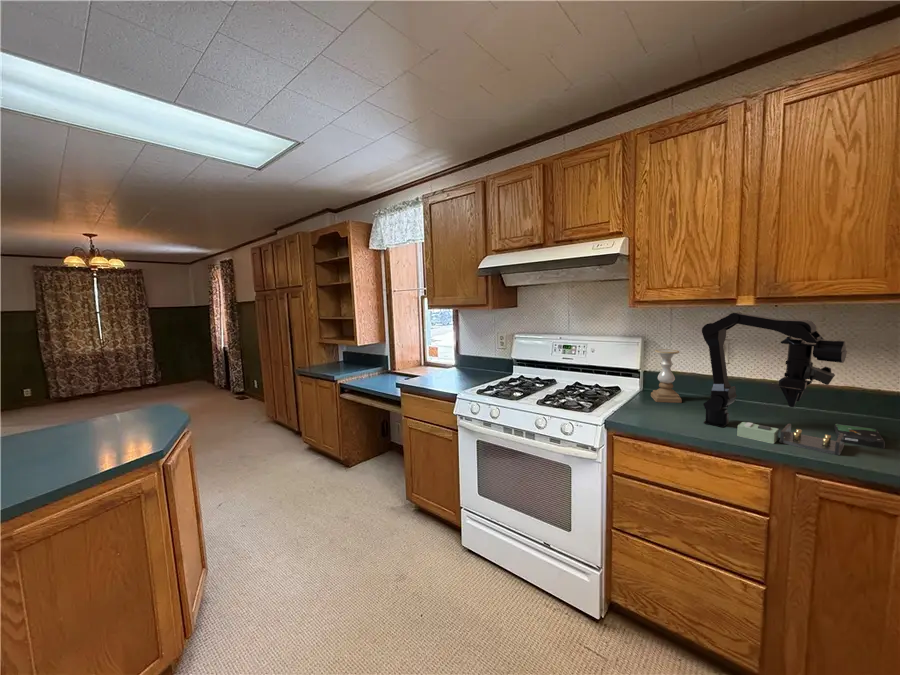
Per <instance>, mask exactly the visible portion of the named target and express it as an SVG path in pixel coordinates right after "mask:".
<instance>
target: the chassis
mask: <svg viewBox="0 0 900 675" xmlns="http://www.w3.org/2000/svg"><path fill="white" fill-rule="evenodd" d="M802 432H803V430H802V429H800V428H796V429H795V431H793V432H792V423H787V424H786V425H785V426H784V427H783V429H781V430H780V439H779V441H778V442H779V443H781V444H785V445H789V446H794V447H799V448H801V449H802V448H804V449H808V450H813V451H816V450H817V451H818V452H821V451H822V452H823V453H827V454H830V453H831V454H830V455H836V456H840V455H841V453H842V451H843V449H844V447H845V442H844V434H843V433H840V435H839V437H838V439H836V440H833V439H831V438H832V435H831V434H827V433H825V434H824V437H819V436H817V437H816V436H811V435H807V434H802ZM817 451H816V452H817Z"/></svg>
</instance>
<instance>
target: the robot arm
mask: <svg viewBox="0 0 900 675" xmlns="http://www.w3.org/2000/svg"><path fill="white" fill-rule="evenodd" d="M737 325H742V326H749V327H753V328H759V329H765V330H770V331H774V332H778V333H780V334H783V335H785V336H787V337H786V338H785V339H783V340H782V341H780V344H784V345H788V347H787V358H786V360H785V365H786V369H785V372H784V375H783V377H781V378H780V379H779V380H778V386H779V389H780V390H781V392H782V393H783V396H784V398H785V400H786V402H787V404H788V406H789V407H790V408H794V407H795V406H796V403H797V402H800V400H801V398H802V395H803V393H804V392H805V390H806V389H807V386H808V385H811V384H812V383H813V381H814V380H815V381H817V382H819V383H822V384H823V385H826V386H827V385H829V384H831V382H832V380H833V379H834V377H835V376H836V374H835V373H834V372H832V368H831V367H828V366H824V367H822V368H820V367H816V366H814V362H813V361H812V357H814V359H815V358H816V360H817V361H821V362H822V361H823V362H830V363H831V362H833V363H841V364H844V362H845V360H846V359H847V353H848V351H847V345H846V341H845V340H840V339H839V340H830V339H829V340H827V339H825V338H824V337H823V336H822V335H821V334H820V333H819V332H818V331H817V325H816V324H815V323H814V321H812V320H809V319H779V318H773V317H766V316H760V315H755V314H747V313H742V312H739V311H738V312H732V313H730V314H728V315H726V316H725V317H722V318H720V319H719V320H716V321H714V322H710V323H706V324H705V325H703V326H702V327H701V334H702V336H703V337H702V338H703V339H704V341H705V342H706V345H707V346H708V350H709V356H710V357H709V358H710V365H711V366H710V367H711V371H712V382H713V384H712V387H711V390H710V399H708V400H707V401H705V402H704V403H703V408H704V409H705V420H704V421H703V424H706V425H710V426H716V427H721V428H724V427H726V426H727V425H728V424H729V422H730V420H729V419H730V414H729V412H728V408H729V406H730V405H731V404H733V403H734V402H735V401H736V398H737V397H738V395H737V392H736V386H735V385H734V386H731V384H730V382H729V380H728V378H729V377H728V371H727V365H726V364H727V363H726V362H727V361H726V357H725V347H724V344H725V341H726V338H727V337H726V336H727V331H729V330H731V329H732V328H734V327H735V326H737Z"/></svg>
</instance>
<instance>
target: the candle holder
mask: <svg viewBox="0 0 900 675" xmlns="http://www.w3.org/2000/svg"><path fill="white" fill-rule="evenodd" d="M654 353H655V354H659V355H660V357H661V362H660V365H661V367H662V368H661V371H660V372H659V373H658V375H657V380H658V381H659V384H658V387H659V388H658V389H653V390H652V392H650V397H651V399H653V400H654V401H655V403H656V402H657V403H674V404H677V403H678V404H681V403H682V400H683V399H682V397H680V395H679V394H678V392H676V390H674V384H673V382H675V380H676V377H675V375H674V373H673V372H672V370H671V368H672V367H673V365H674V364H673V362H672V358H673V357H674V355H678V354H680V350H678V349H665V348H661V349H655V350H654Z"/></svg>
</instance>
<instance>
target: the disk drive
mask: <svg viewBox="0 0 900 675" xmlns="http://www.w3.org/2000/svg"><path fill="white" fill-rule="evenodd" d="M833 426H834V432H835V436H836V438H837V439H838V437H839V435H840V433H843V434H844V442H843V443H844V444H852V445H857V446H858V445H860V446H862V447H863V446H864V447H870V448H871V447H872V448H877V449H881V450H882V449H883V450H884V449H886V447H885V446H886V442H885V440H884V437H882V435H881V433H880V432H879V431H878V429H877V428H872V427H864V426H858V425H846V424H840V423H835V424H834V425H833ZM837 439H836V440H837Z"/></svg>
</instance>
